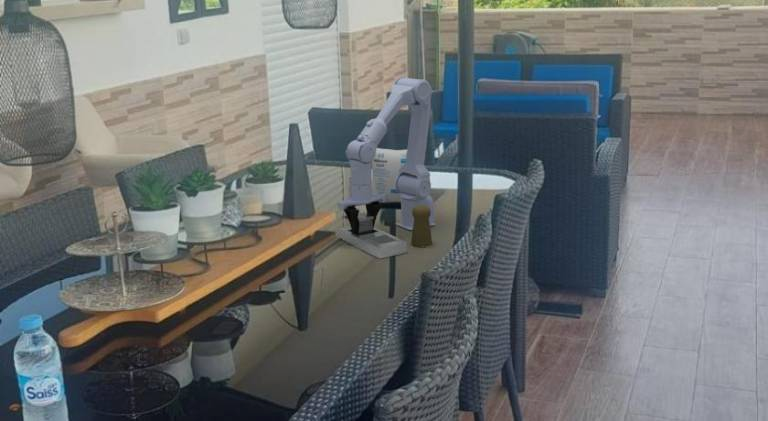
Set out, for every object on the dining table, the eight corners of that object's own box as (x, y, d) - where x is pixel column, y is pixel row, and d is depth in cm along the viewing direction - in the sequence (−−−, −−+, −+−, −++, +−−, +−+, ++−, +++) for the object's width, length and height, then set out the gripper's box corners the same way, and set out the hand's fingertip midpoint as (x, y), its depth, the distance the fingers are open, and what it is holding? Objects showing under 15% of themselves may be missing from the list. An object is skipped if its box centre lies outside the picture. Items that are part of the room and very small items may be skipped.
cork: (430, 247, 252) (430, 209, 249) (409, 246, 253) (408, 208, 250) (433, 241, 258) (433, 203, 255) (412, 240, 259) (412, 203, 256)
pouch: (423, 211, 288) (423, 149, 282) (365, 208, 293) (364, 147, 287) (429, 204, 295) (428, 144, 289) (372, 201, 300) (371, 142, 295)
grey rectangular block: (365, 236, 263) (364, 212, 261) (373, 240, 259) (373, 216, 257) (350, 239, 260) (350, 214, 258) (359, 243, 256) (358, 218, 254)
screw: (363, 216, 283) (353, 220, 280) (351, 213, 286) (341, 217, 283) (362, 175, 280) (352, 179, 276) (350, 173, 283) (340, 176, 279)
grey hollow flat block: (365, 233, 266) (365, 223, 265) (407, 252, 248) (407, 242, 248) (338, 238, 262) (338, 228, 261) (379, 258, 244) (379, 248, 243)
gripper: (375, 176, 261) (377, 221, 265) (331, 184, 254) (333, 230, 258) (389, 181, 256) (390, 227, 259) (344, 189, 248) (346, 236, 252)
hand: (362, 229), depth 258 cm, fingers open, 5 cm apart
